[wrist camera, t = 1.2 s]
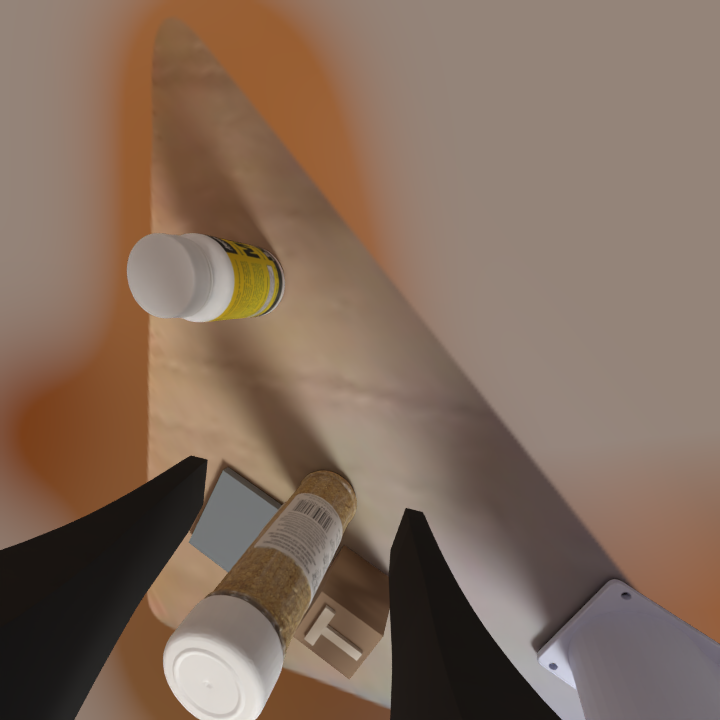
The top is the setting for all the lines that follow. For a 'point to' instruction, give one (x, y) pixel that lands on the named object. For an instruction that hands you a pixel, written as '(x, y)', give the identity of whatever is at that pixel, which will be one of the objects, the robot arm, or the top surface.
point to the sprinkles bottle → (258, 606)
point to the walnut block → (346, 613)
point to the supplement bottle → (203, 278)
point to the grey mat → (232, 519)
